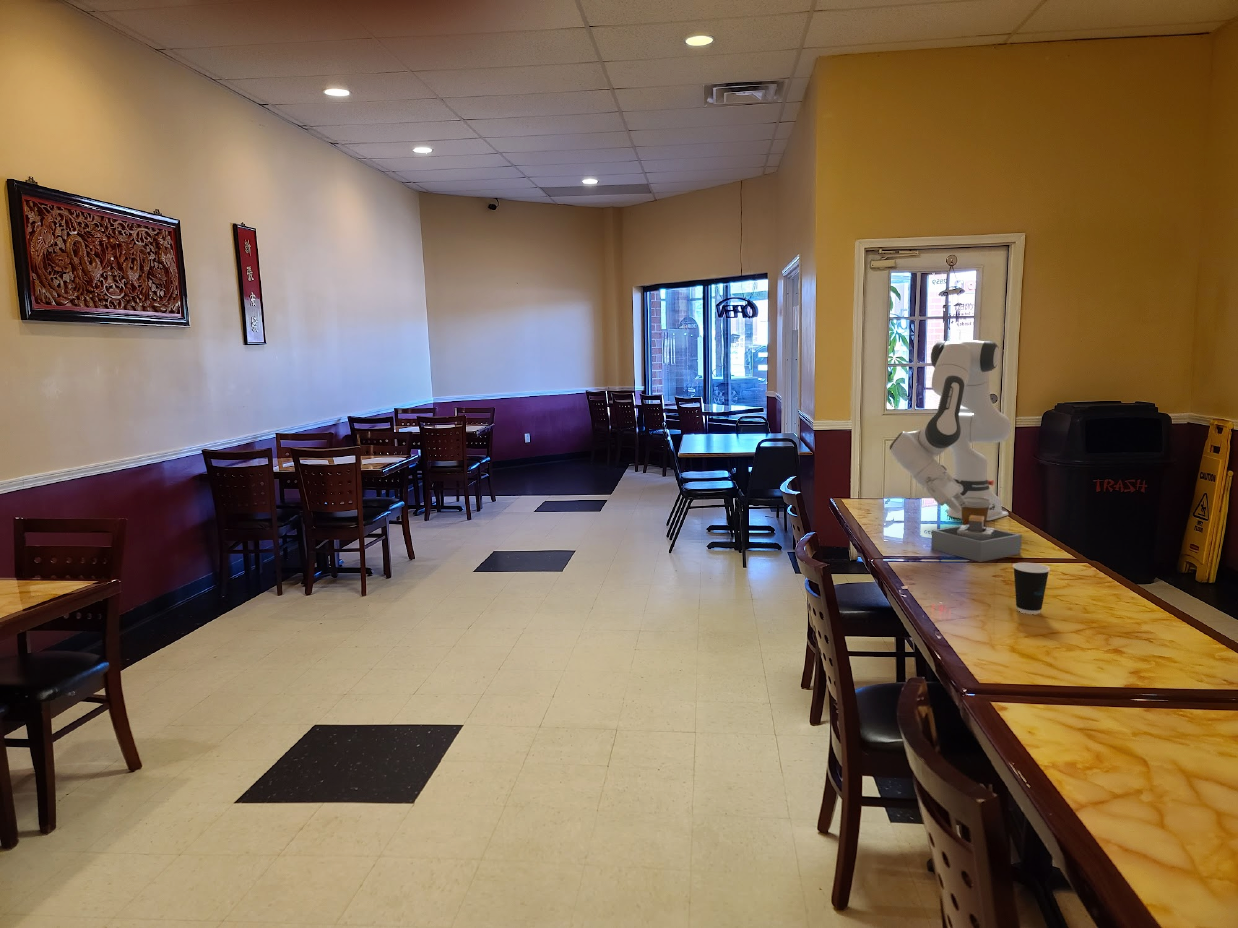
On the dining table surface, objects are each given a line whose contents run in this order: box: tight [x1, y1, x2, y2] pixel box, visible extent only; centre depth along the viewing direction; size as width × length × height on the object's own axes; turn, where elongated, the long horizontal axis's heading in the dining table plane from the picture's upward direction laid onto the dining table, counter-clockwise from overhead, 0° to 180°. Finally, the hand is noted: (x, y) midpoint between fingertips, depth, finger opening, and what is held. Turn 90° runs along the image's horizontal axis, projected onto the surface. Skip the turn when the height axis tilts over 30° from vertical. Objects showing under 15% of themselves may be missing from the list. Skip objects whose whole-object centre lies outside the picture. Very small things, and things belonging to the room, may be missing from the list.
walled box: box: [930, 524, 1023, 563], centre depth 239 cm, size 18×18×6 cm
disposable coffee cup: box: [961, 497, 990, 527], centre depth 261 cm, size 10×10×12 cm
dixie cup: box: [1012, 562, 1051, 615], centre depth 184 cm, size 8×8×11 cm
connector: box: [969, 515, 984, 532], centre depth 239 cm, size 4×4×8 cm
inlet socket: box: [957, 524, 996, 541], centre depth 239 cm, size 9×9×6 cm
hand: (962, 508), depth 240 cm, fingers open, 8 cm apart
